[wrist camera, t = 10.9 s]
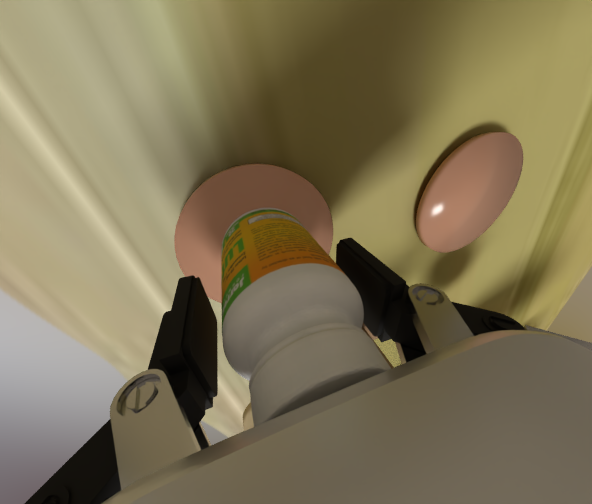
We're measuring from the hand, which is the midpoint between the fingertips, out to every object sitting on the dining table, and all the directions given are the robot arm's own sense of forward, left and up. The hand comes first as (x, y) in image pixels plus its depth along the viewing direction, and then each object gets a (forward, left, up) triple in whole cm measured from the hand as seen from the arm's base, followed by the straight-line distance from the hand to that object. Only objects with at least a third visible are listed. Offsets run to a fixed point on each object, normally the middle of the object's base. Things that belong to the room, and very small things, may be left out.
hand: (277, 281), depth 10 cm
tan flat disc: (0, 0, -5) cm, 5 cm away
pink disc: (0, +18, -5) cm, 19 cm away
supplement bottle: (0, 0, -4) cm, 4 cm away
